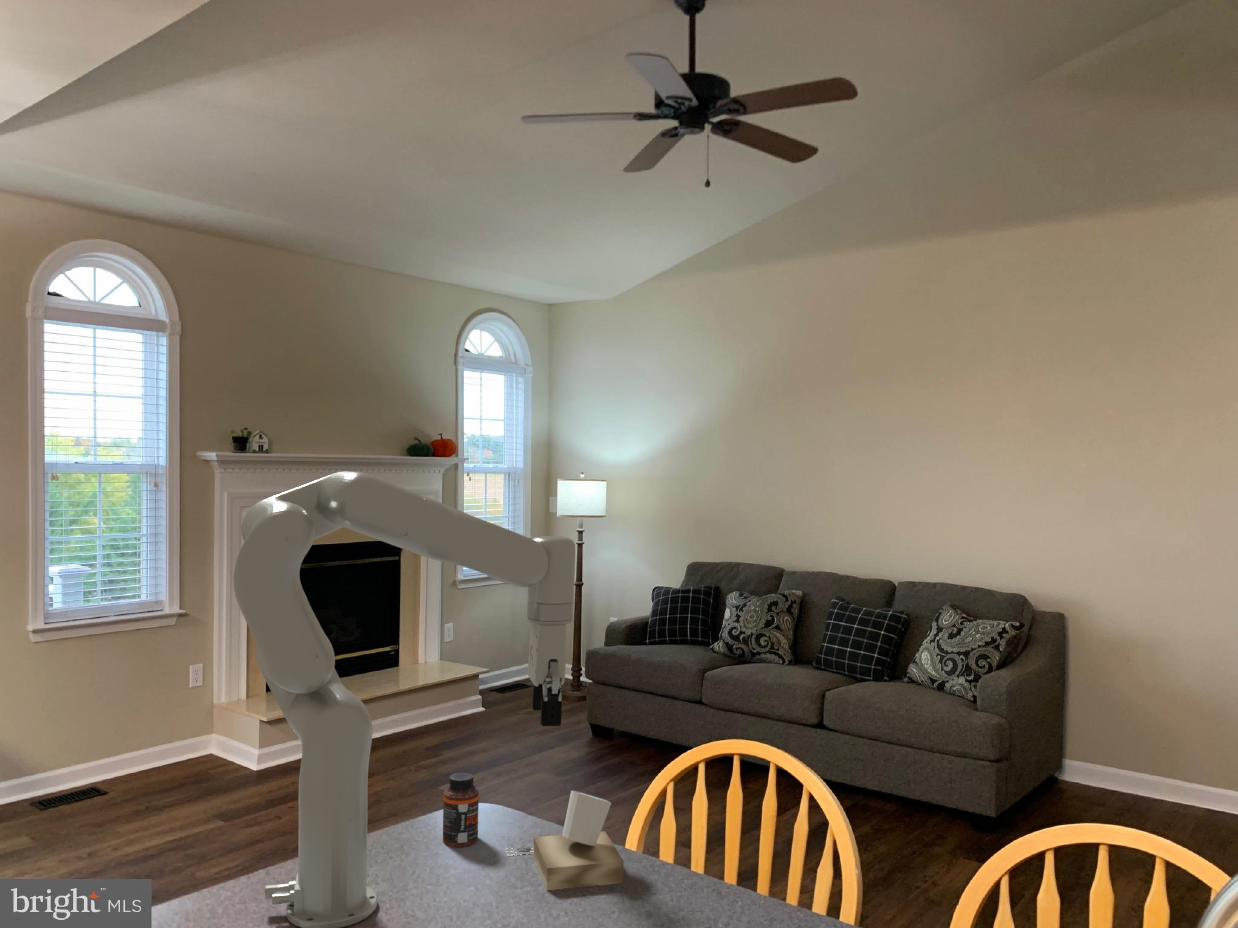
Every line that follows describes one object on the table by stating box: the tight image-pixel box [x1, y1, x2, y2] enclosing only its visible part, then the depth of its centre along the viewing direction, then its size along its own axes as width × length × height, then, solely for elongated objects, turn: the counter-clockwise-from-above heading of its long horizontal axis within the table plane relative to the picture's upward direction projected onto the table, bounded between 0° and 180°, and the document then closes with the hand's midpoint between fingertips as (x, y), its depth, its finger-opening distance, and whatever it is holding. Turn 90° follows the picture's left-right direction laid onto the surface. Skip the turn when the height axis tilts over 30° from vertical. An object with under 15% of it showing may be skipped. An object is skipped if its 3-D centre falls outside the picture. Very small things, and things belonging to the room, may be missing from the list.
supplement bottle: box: [442, 772, 480, 848], centre depth 161 cm, size 6×6×11 cm
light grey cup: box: [561, 790, 612, 846], centre depth 152 cm, size 7×7×7 cm
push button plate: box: [505, 845, 534, 857], centre depth 157 cm, size 6×4×1 cm, turn 104°
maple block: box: [533, 830, 625, 891], centre depth 151 cm, size 12×12×4 cm
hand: (546, 717), depth 154 cm, fingers open, 9 cm apart
